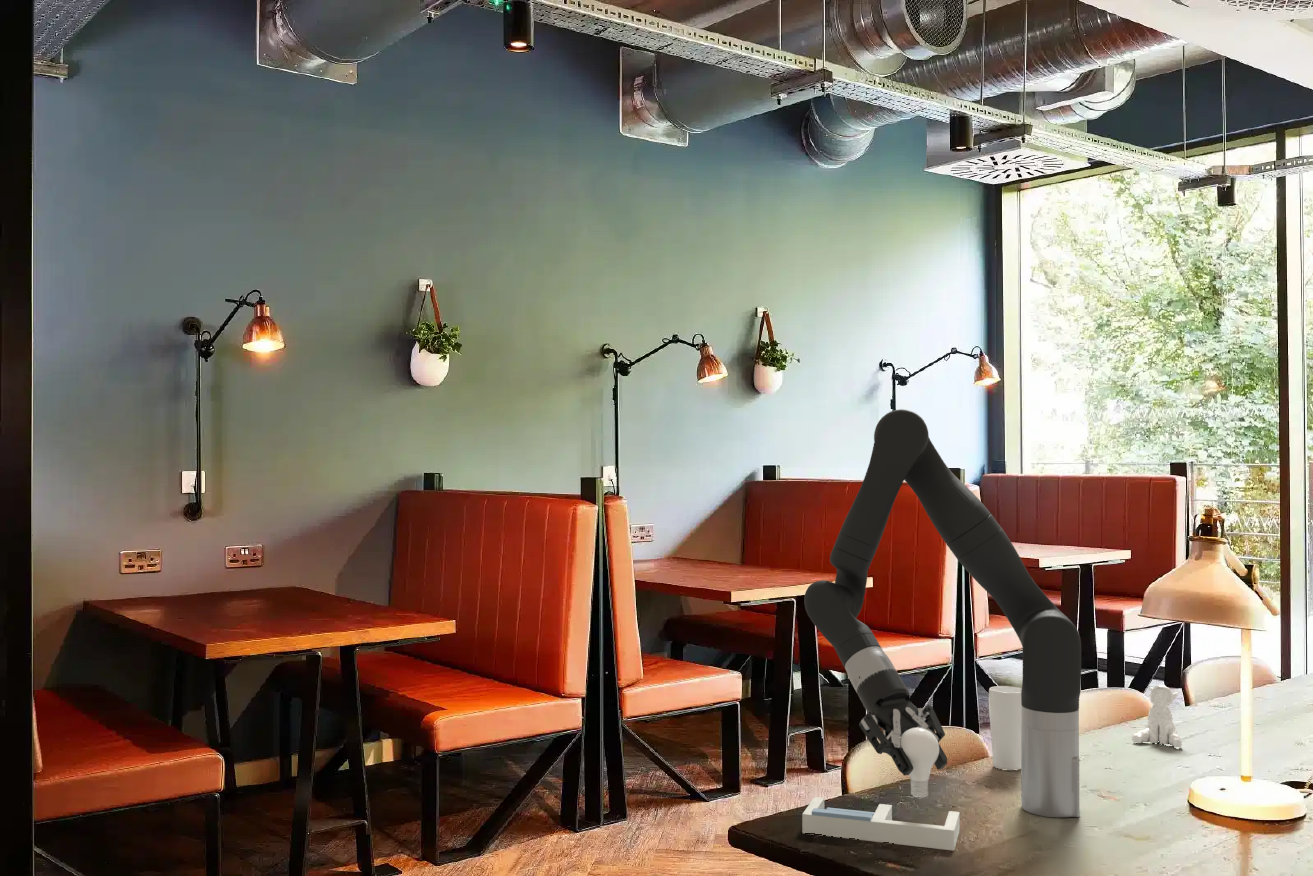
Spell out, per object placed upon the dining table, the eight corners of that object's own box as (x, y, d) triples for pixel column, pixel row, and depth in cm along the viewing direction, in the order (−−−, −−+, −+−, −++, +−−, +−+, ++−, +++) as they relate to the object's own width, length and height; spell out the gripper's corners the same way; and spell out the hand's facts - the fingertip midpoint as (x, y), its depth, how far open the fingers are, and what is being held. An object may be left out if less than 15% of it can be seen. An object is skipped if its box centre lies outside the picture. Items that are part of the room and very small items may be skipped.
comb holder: (960, 829, 183) (960, 806, 183) (954, 850, 173) (954, 826, 173) (816, 813, 190) (816, 791, 190) (802, 833, 180) (802, 810, 180)
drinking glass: (1027, 774, 215) (1027, 693, 215) (990, 771, 216) (990, 692, 217) (1023, 764, 222) (1023, 686, 222) (987, 762, 223) (987, 685, 223)
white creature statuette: (1131, 744, 238) (1131, 686, 239) (1138, 735, 246) (1138, 679, 246) (1181, 750, 233) (1180, 691, 234) (1186, 741, 241) (1186, 684, 241)
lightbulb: (917, 806, 176) (915, 734, 176) (890, 796, 182) (889, 726, 182) (949, 800, 179) (947, 729, 179) (922, 790, 185) (920, 721, 185)
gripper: (851, 672, 184) (901, 763, 173) (920, 663, 191) (972, 750, 180) (831, 699, 188) (879, 789, 178) (899, 689, 195) (950, 776, 185)
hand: (926, 769), depth 179 cm, fingers closed on lightbulb, 6 cm apart
